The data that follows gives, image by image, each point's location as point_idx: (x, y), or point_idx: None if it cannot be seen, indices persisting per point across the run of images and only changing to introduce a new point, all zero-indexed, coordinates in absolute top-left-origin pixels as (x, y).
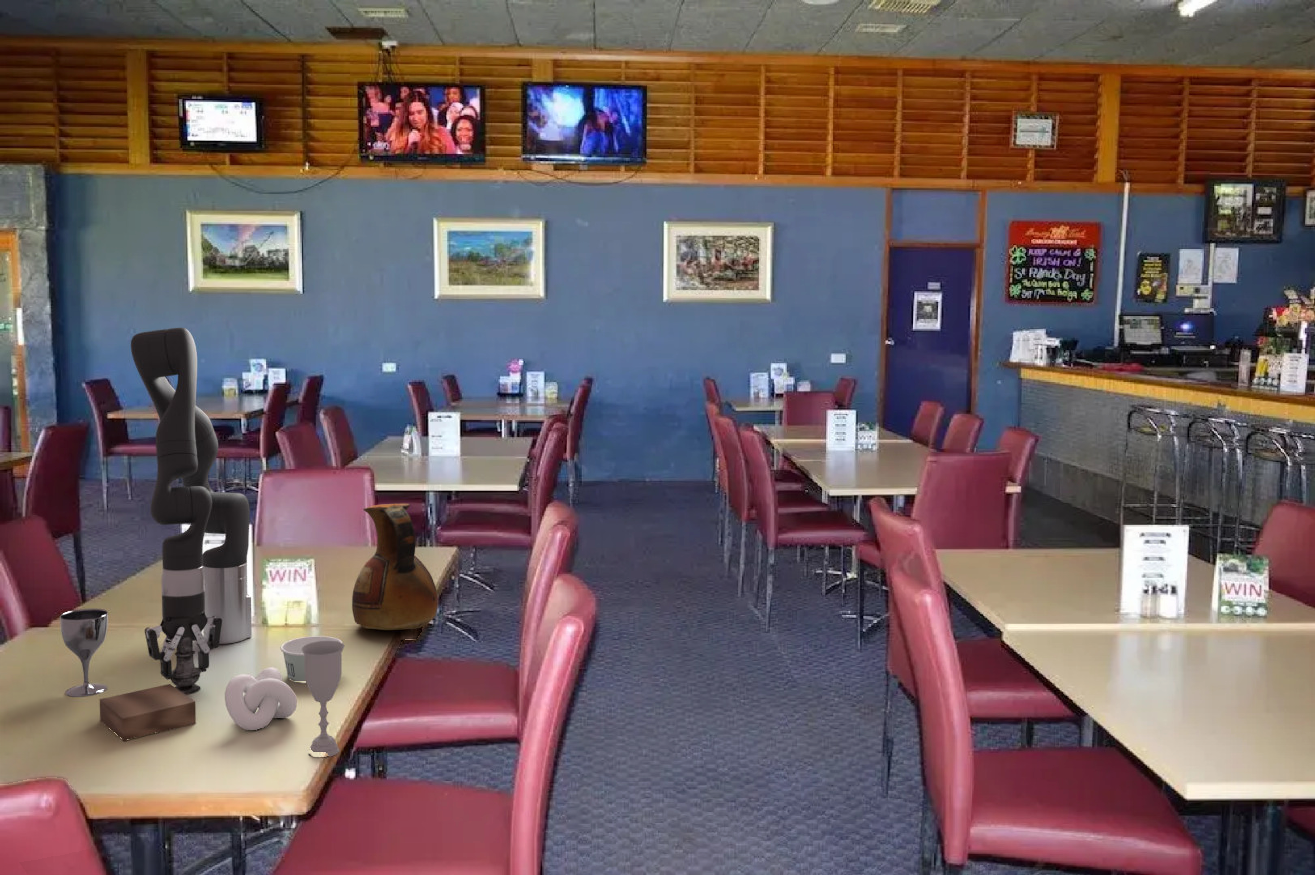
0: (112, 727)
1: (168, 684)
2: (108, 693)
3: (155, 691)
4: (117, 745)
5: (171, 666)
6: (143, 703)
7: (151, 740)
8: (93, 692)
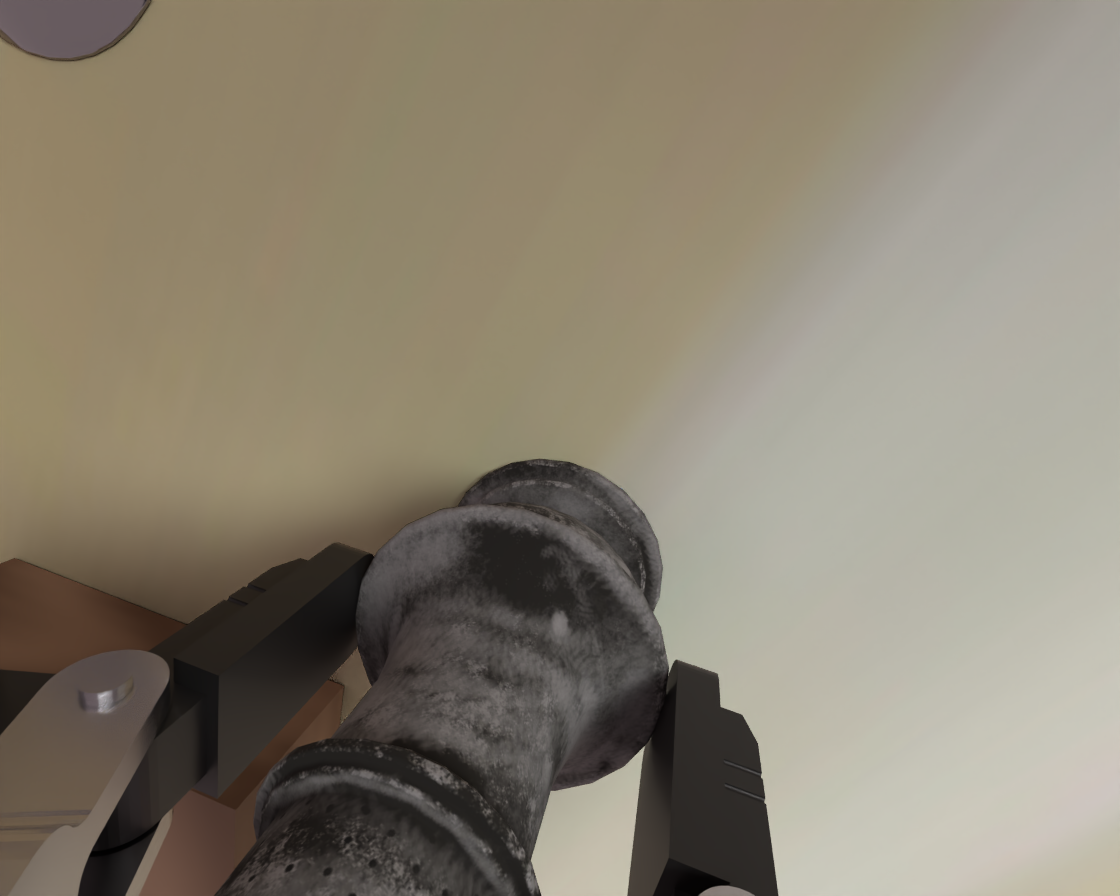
0: None
1: (222, 811)
2: (142, 120)
3: None
4: None
5: (274, 735)
6: None
7: None
8: (45, 19)
